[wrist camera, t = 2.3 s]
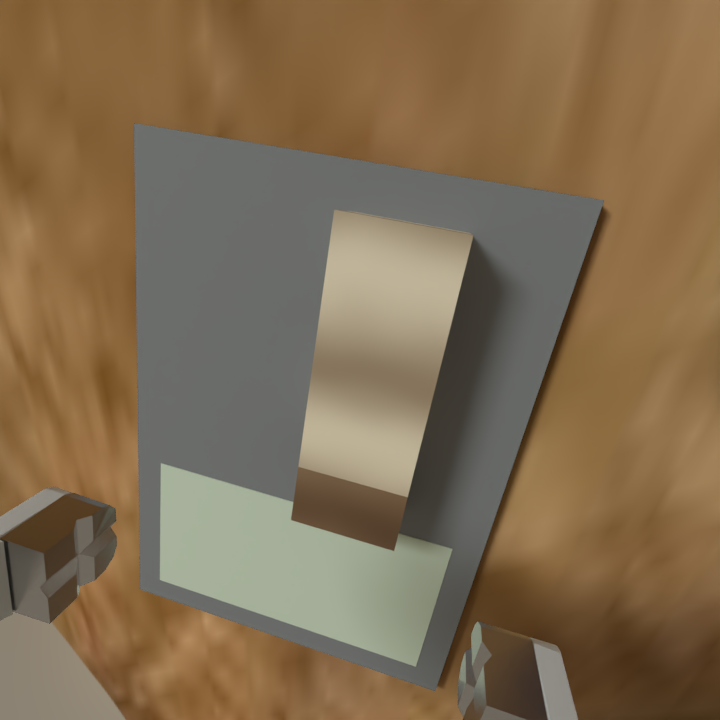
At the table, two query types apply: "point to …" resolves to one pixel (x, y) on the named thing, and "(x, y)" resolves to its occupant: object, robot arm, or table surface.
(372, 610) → the rubber mat
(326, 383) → the beige rectangular block
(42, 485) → the table surface
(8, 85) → the table surface
